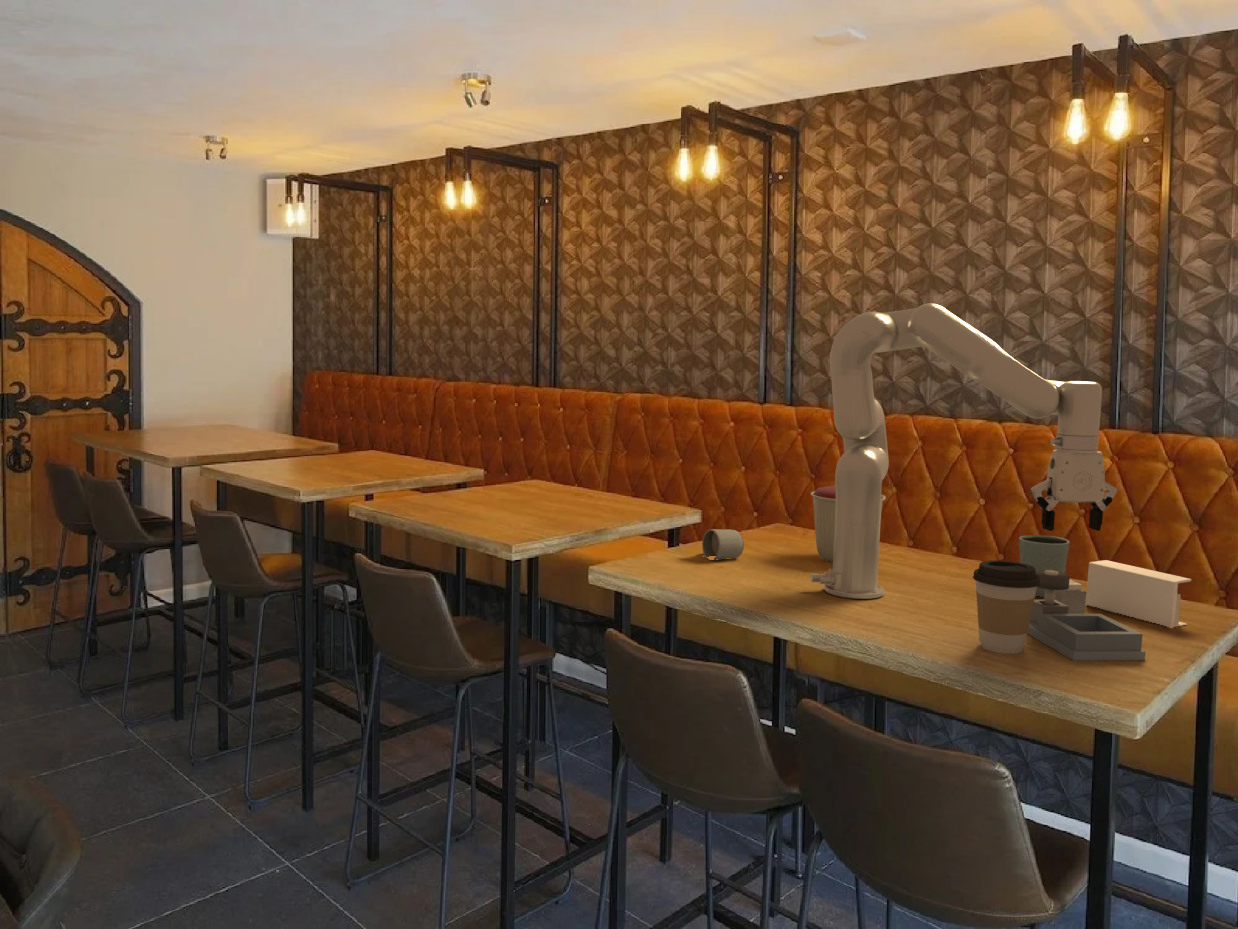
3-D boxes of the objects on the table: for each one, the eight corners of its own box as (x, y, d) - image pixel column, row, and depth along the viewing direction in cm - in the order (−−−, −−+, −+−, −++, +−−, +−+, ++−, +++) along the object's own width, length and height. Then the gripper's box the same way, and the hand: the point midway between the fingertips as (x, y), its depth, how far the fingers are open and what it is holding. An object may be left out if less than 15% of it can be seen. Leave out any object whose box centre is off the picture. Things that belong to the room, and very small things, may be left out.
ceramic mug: (745, 560, 248) (746, 529, 247) (718, 563, 244) (719, 532, 243) (720, 552, 257) (721, 523, 257) (693, 555, 253) (694, 525, 252)
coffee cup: (1019, 639, 186) (1025, 559, 184) (1047, 658, 175) (1053, 573, 173) (958, 638, 186) (963, 558, 184) (982, 657, 175) (988, 572, 173)
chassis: (1073, 660, 174) (1075, 629, 173) (1013, 624, 196) (1014, 596, 195) (1144, 660, 175) (1147, 629, 175) (1077, 624, 197) (1079, 596, 196)
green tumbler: (1070, 600, 216) (1074, 544, 215) (1020, 596, 218) (1024, 542, 217) (1059, 588, 226) (1063, 536, 225) (1011, 585, 228) (1015, 533, 227)
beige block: (1059, 621, 200) (1062, 585, 199) (1043, 612, 206) (1045, 577, 205) (1084, 621, 200) (1086, 585, 199) (1066, 612, 206) (1069, 577, 206)
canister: (793, 555, 256) (797, 472, 253) (853, 550, 263) (857, 470, 260) (835, 570, 239) (839, 482, 236) (897, 565, 246) (902, 480, 243)
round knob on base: (1041, 611, 188) (1043, 575, 187) (1024, 602, 194) (1026, 567, 193) (1073, 611, 188) (1076, 575, 187) (1056, 602, 195) (1059, 567, 194)
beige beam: (1187, 626, 198) (1192, 579, 197) (1170, 629, 195) (1174, 582, 194) (1097, 602, 215) (1100, 558, 214) (1080, 604, 213) (1083, 561, 212)
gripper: (1044, 445, 194) (1039, 533, 196) (1130, 446, 196) (1123, 533, 198) (1025, 441, 202) (1020, 526, 204) (1108, 442, 203) (1102, 526, 205)
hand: (1071, 529), depth 201 cm, fingers open, 9 cm apart
